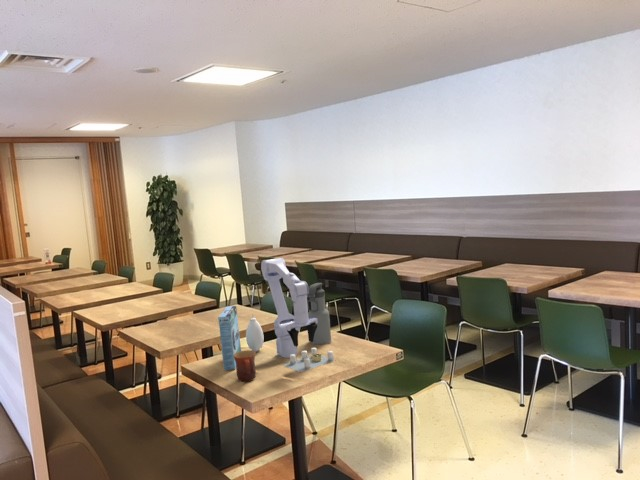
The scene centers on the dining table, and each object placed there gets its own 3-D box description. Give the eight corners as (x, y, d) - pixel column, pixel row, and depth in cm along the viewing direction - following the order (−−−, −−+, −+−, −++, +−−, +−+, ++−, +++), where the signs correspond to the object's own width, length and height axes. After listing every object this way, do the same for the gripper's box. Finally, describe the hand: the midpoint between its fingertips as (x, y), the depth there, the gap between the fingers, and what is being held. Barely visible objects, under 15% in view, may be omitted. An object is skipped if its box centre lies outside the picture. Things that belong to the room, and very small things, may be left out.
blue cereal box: (235, 370, 215) (229, 316, 213) (222, 370, 215) (217, 317, 213) (241, 354, 235) (237, 305, 232) (230, 355, 235) (225, 306, 232)
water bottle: (323, 347, 236) (318, 287, 233) (306, 344, 242) (301, 286, 239) (335, 340, 245) (330, 282, 242) (318, 338, 250) (313, 281, 247)
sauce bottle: (244, 351, 239) (240, 313, 237) (258, 347, 244) (255, 309, 242) (253, 354, 233) (250, 315, 231) (267, 350, 238) (264, 312, 236)
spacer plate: (282, 366, 215) (281, 356, 214) (317, 355, 225) (316, 345, 225) (300, 374, 204) (299, 363, 204) (336, 362, 215) (335, 352, 215)
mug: (234, 377, 207) (231, 352, 206) (256, 373, 209) (253, 349, 208) (238, 387, 195) (235, 361, 194) (261, 383, 198) (258, 357, 196)
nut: (309, 360, 217) (309, 356, 217) (315, 357, 220) (315, 353, 220) (318, 362, 214) (317, 357, 214) (324, 359, 217) (323, 354, 217)
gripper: (291, 316, 204) (294, 350, 205) (320, 309, 212) (323, 341, 214) (282, 314, 209) (284, 346, 211) (310, 306, 218) (313, 338, 219)
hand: (303, 343), depth 213 cm, fingers open, 7 cm apart
